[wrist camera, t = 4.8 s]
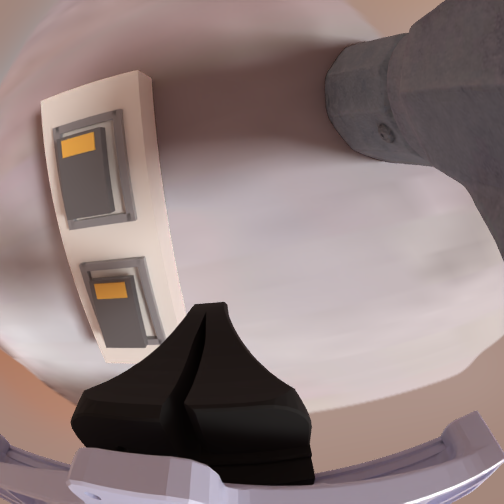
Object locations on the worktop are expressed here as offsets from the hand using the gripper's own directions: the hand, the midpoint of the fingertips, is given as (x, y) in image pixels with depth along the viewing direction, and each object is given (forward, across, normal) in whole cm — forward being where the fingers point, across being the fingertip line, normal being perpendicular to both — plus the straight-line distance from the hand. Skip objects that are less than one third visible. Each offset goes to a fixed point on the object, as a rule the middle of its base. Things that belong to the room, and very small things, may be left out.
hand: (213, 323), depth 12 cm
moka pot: (+10, -12, -10) cm, 18 cm away
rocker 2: (+5, +7, +2) cm, 9 cm away
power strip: (+9, +7, -2) cm, 12 cm away
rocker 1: (+5, +7, -6) cm, 11 cm away
